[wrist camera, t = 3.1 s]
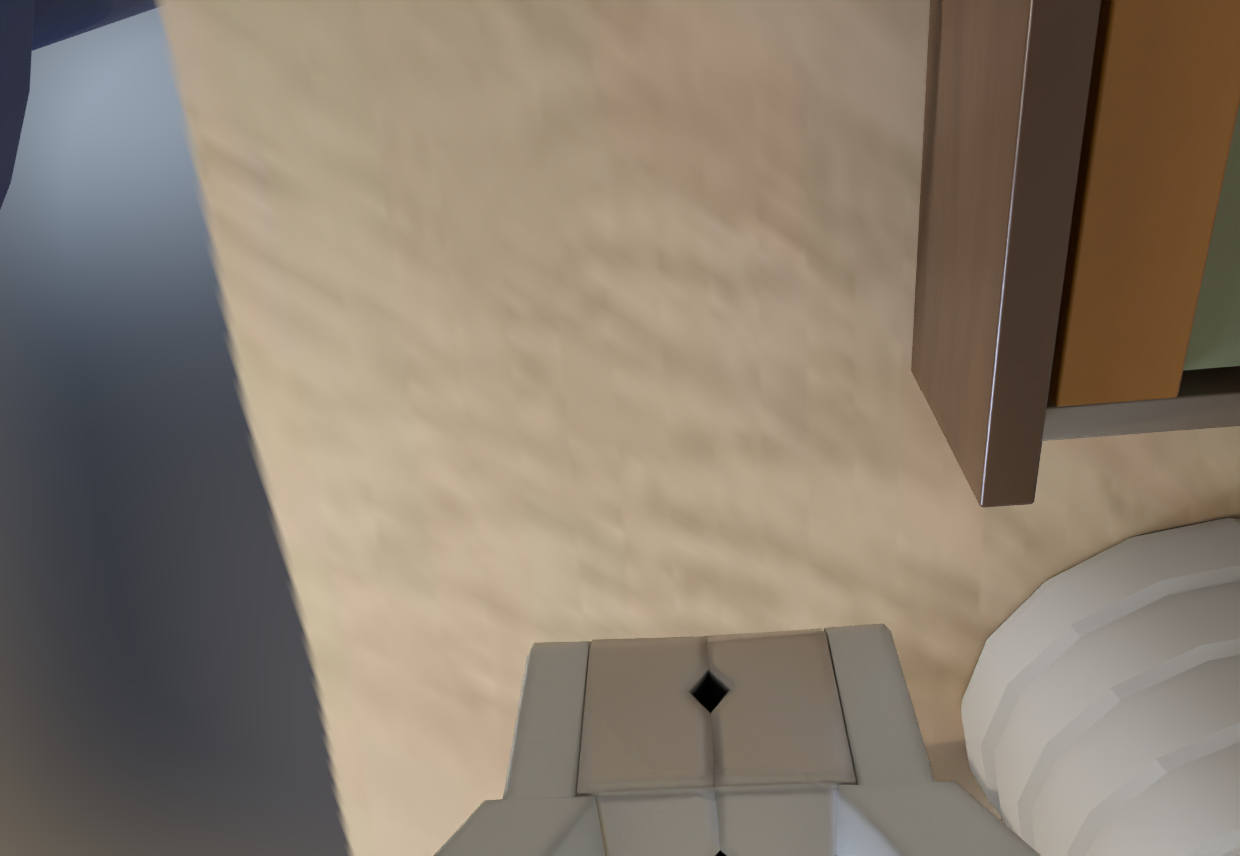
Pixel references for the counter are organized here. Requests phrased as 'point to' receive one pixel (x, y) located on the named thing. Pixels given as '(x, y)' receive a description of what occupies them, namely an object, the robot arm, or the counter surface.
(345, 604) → the counter surface
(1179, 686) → the soap bottle
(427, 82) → the counter surface
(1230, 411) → the tray
